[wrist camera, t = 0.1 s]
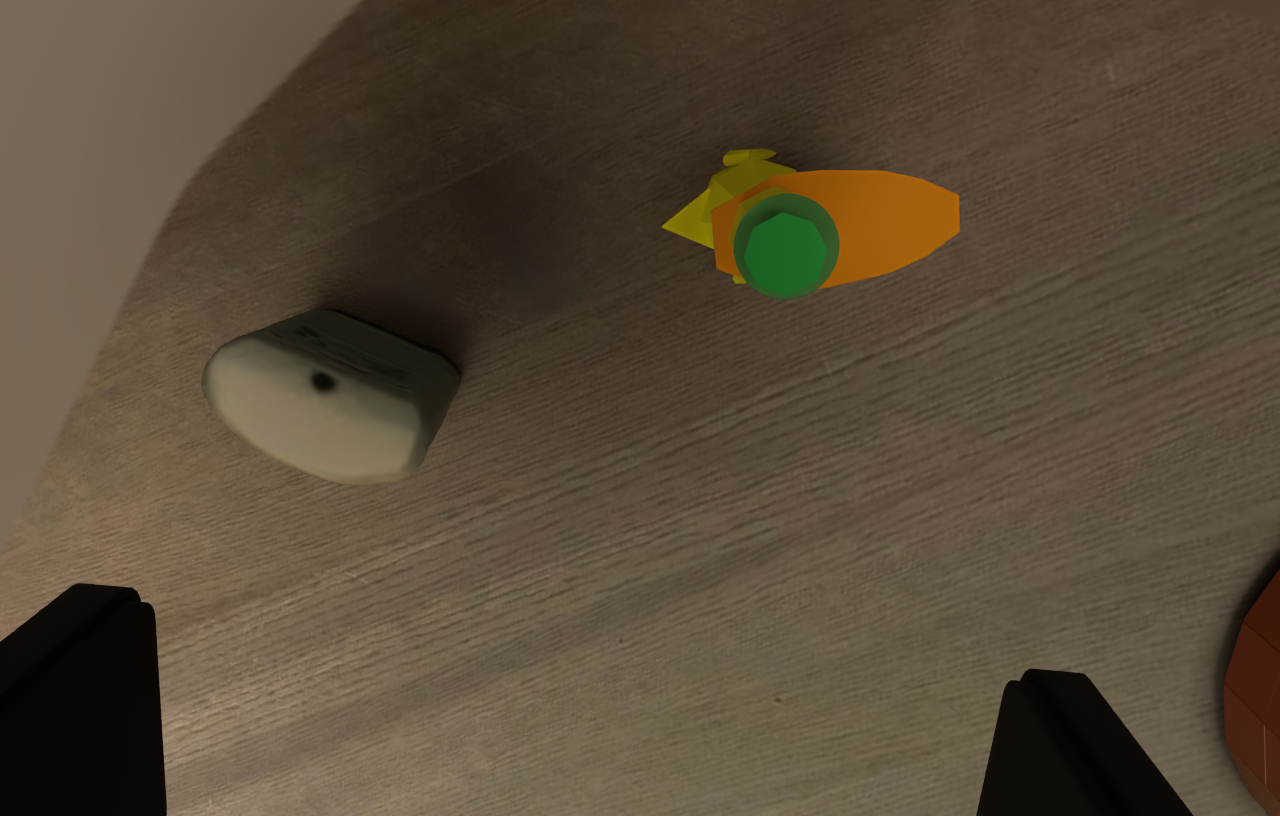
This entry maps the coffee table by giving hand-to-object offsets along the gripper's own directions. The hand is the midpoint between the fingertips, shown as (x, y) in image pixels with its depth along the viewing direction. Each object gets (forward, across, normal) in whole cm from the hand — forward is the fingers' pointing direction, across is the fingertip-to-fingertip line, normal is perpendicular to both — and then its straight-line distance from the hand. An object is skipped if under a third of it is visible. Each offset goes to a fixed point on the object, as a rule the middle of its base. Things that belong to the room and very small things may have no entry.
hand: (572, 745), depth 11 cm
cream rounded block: (+22, +8, +2) cm, 23 cm away
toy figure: (+22, -4, -4) cm, 23 cm away
